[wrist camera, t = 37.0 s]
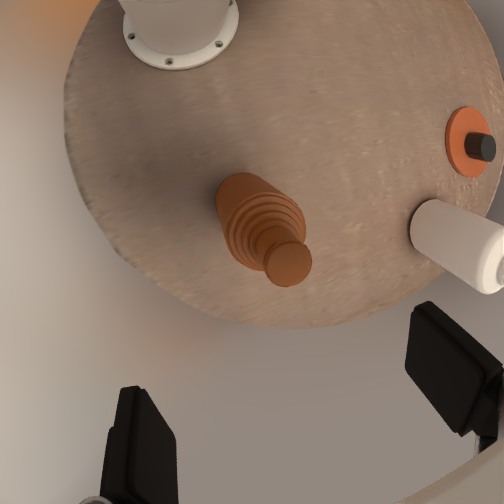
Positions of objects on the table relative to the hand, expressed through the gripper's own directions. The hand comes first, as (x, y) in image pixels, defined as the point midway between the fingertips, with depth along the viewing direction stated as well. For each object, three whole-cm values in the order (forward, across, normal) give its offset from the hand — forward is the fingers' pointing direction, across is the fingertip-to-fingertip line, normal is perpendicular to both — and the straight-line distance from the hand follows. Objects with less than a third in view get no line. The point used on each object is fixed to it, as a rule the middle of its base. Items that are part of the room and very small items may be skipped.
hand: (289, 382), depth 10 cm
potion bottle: (+28, -28, +10) cm, 41 cm away
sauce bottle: (+28, -3, +1) cm, 28 cm away
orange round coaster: (+28, -38, -2) cm, 47 cm away
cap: (+27, -38, -1) cm, 47 cm away
